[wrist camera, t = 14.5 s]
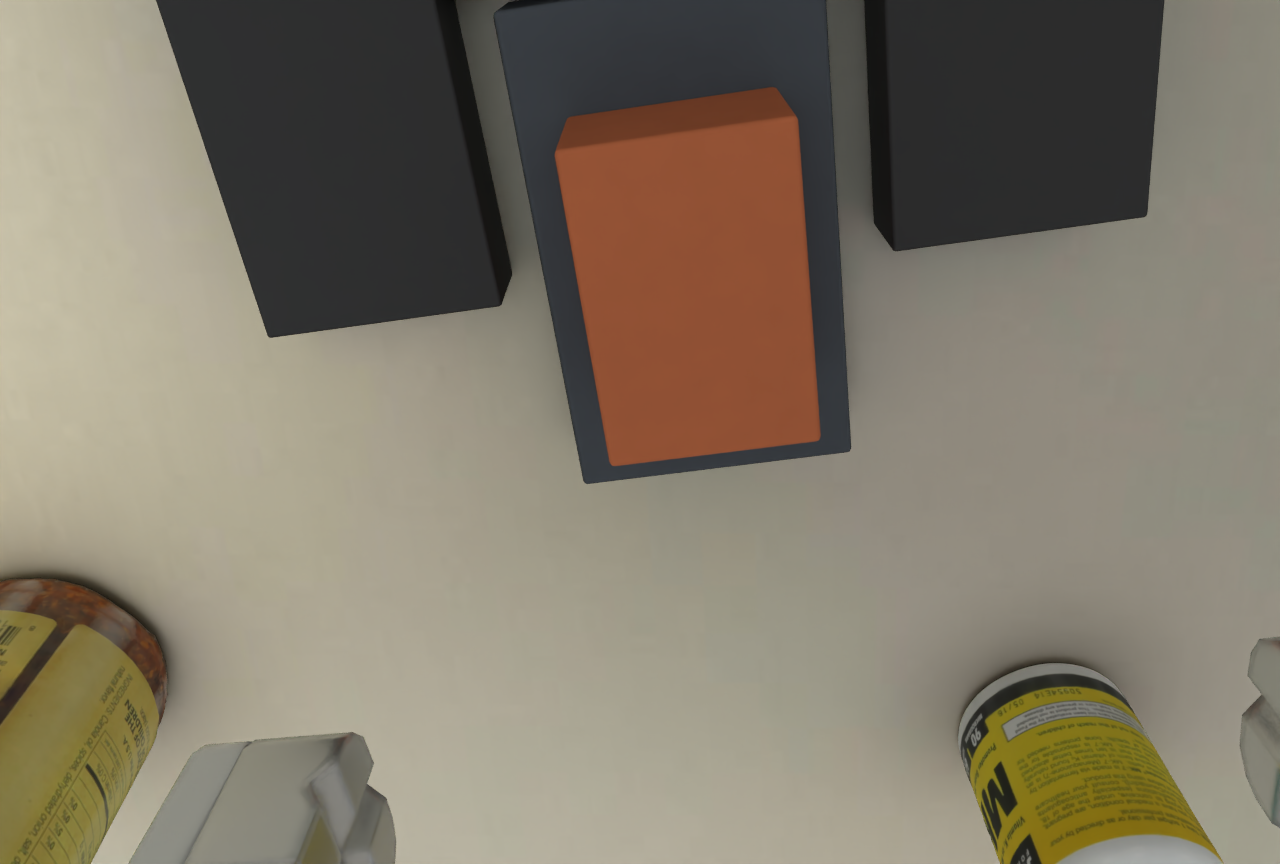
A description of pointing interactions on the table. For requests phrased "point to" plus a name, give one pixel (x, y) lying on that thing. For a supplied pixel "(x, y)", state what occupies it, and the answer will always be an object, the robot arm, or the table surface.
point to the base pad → (460, 174)
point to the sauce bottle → (70, 717)
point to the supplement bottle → (1073, 774)
